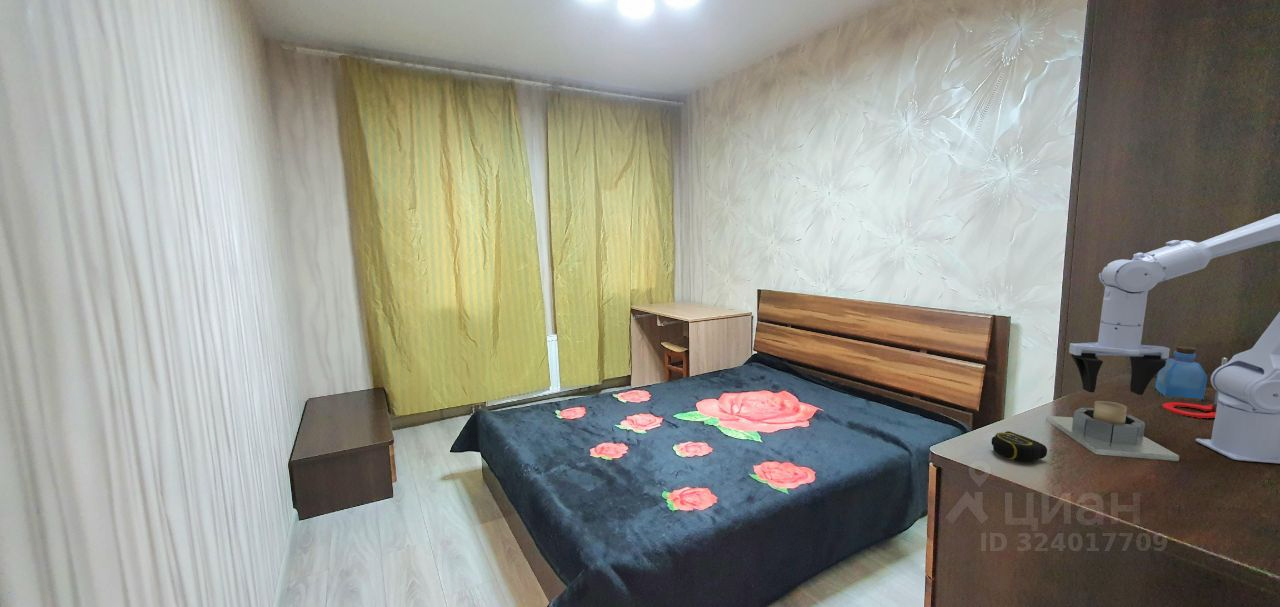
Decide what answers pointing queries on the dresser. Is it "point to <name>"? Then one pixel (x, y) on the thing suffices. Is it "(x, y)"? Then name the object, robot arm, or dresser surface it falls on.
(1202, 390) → the perfume bottle
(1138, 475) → the dresser surface
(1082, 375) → the robot arm
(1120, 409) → the tan peg
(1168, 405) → the tow hook
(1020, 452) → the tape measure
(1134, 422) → the rosette socket
